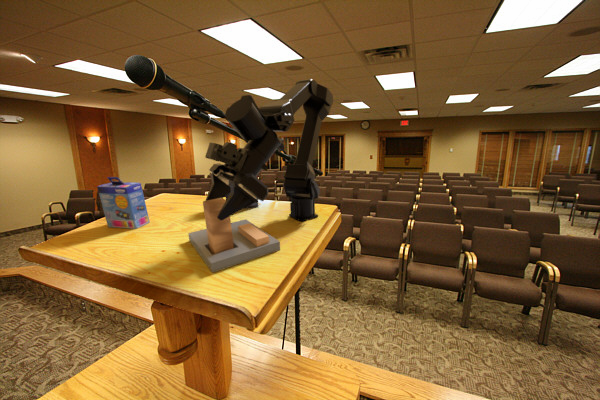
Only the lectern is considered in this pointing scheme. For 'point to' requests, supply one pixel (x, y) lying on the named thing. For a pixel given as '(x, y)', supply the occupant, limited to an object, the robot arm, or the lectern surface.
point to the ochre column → (217, 227)
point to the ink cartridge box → (123, 204)
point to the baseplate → (235, 245)
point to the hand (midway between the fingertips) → (211, 213)
